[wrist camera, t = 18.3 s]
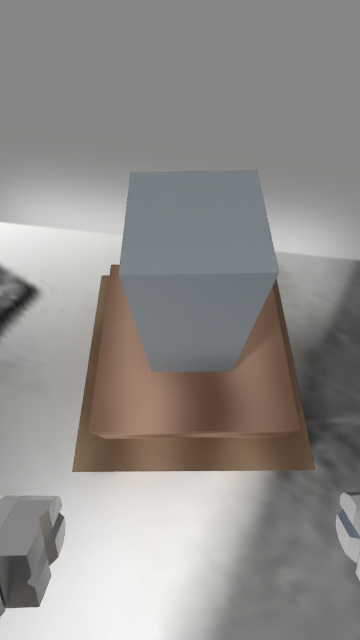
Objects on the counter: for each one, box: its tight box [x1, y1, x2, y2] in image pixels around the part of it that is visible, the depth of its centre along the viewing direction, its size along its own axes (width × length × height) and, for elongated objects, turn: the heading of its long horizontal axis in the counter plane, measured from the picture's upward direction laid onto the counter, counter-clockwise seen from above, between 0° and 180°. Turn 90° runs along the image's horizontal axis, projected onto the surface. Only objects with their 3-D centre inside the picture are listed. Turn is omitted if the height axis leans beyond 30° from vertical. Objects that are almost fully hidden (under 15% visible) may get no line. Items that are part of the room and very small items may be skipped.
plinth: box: [72, 265, 315, 472], centre depth 22 cm, size 16×16×8 cm
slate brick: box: [119, 170, 279, 372], centre depth 14 cm, size 5×5×10 cm
